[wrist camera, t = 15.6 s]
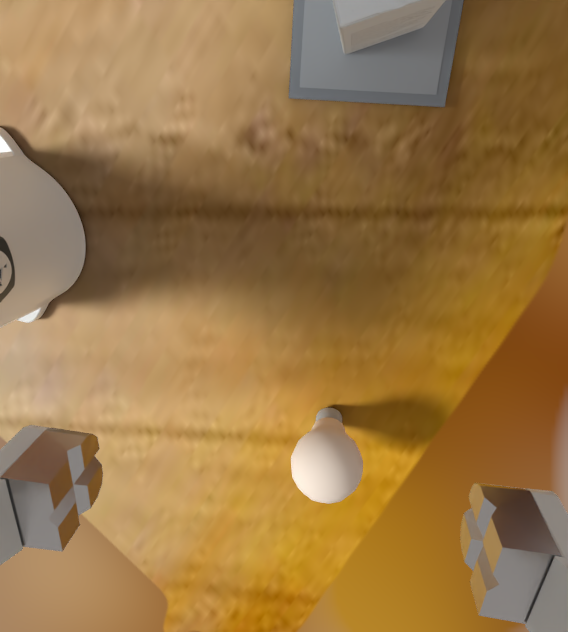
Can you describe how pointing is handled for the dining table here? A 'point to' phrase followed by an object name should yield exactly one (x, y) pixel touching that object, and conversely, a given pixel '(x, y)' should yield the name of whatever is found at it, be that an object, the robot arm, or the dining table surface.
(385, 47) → the plate
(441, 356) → the dining table surface
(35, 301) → the robot arm
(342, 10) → the skincare box
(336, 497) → the light bulb
